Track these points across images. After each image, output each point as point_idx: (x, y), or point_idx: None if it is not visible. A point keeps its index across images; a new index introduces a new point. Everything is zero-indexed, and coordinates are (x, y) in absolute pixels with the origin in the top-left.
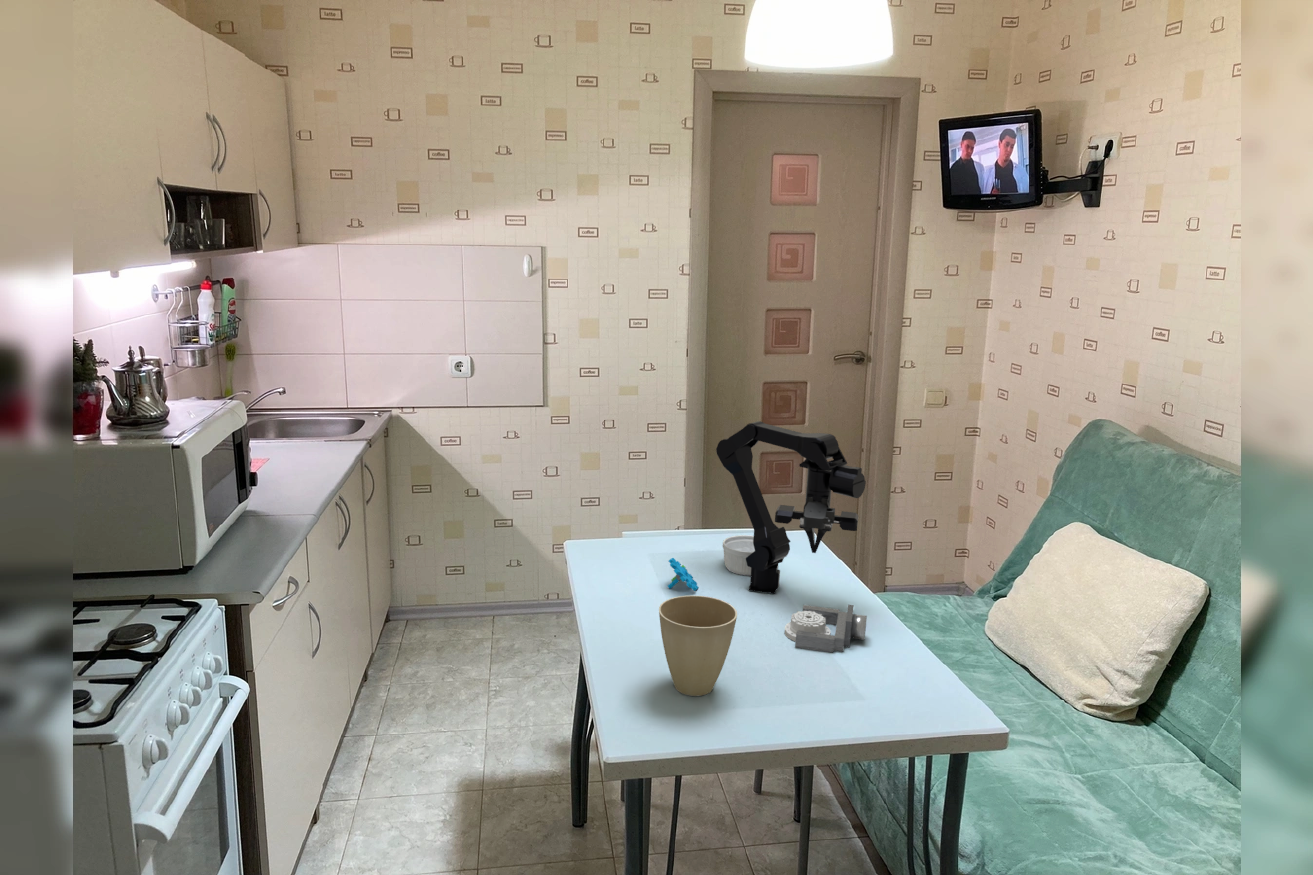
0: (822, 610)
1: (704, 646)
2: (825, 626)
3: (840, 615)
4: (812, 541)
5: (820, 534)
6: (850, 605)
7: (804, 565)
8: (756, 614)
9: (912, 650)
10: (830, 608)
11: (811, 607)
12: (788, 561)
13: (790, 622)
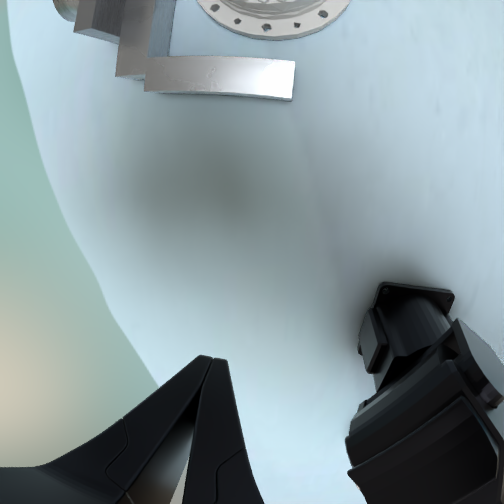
0: (208, 60)
1: None
2: (206, 3)
3: (141, 38)
4: (206, 432)
5: (85, 477)
6: (84, 22)
7: (268, 443)
8: (452, 108)
9: (16, 12)
10: (175, 90)
11: (255, 78)
12: (303, 453)
13: (338, 8)
